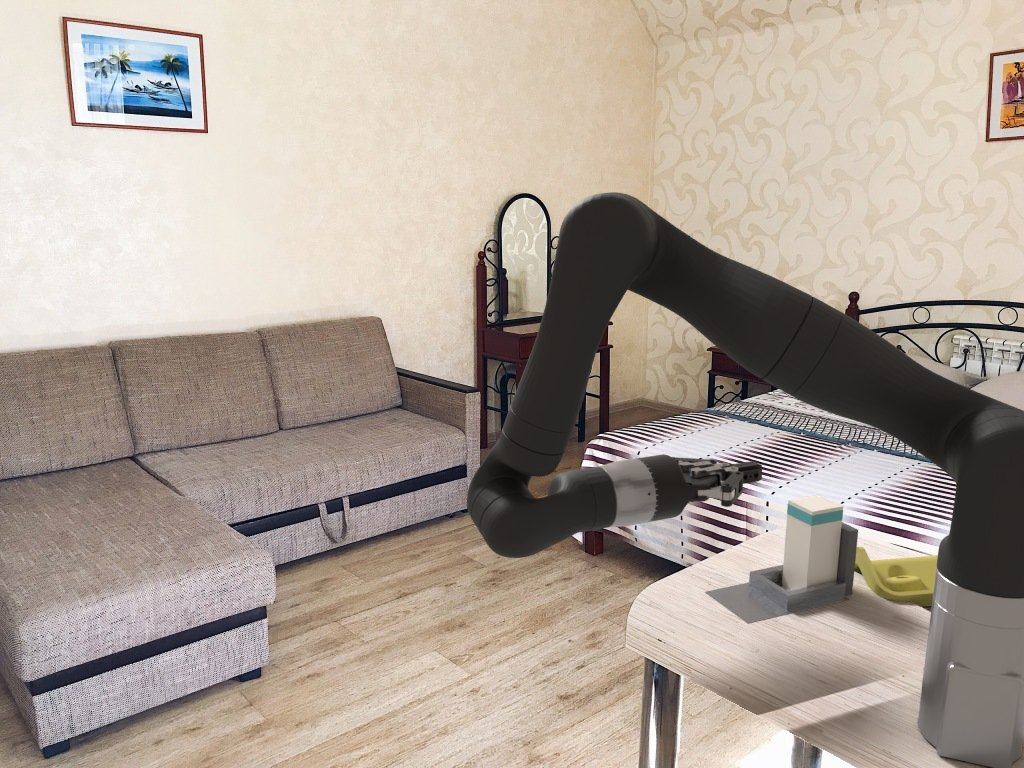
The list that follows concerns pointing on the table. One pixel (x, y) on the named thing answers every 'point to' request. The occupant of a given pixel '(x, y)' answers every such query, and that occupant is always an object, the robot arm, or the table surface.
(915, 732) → the table surface
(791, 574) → the block
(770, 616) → the rail plate
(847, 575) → the end stop
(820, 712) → the table surface
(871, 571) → the plastic component
